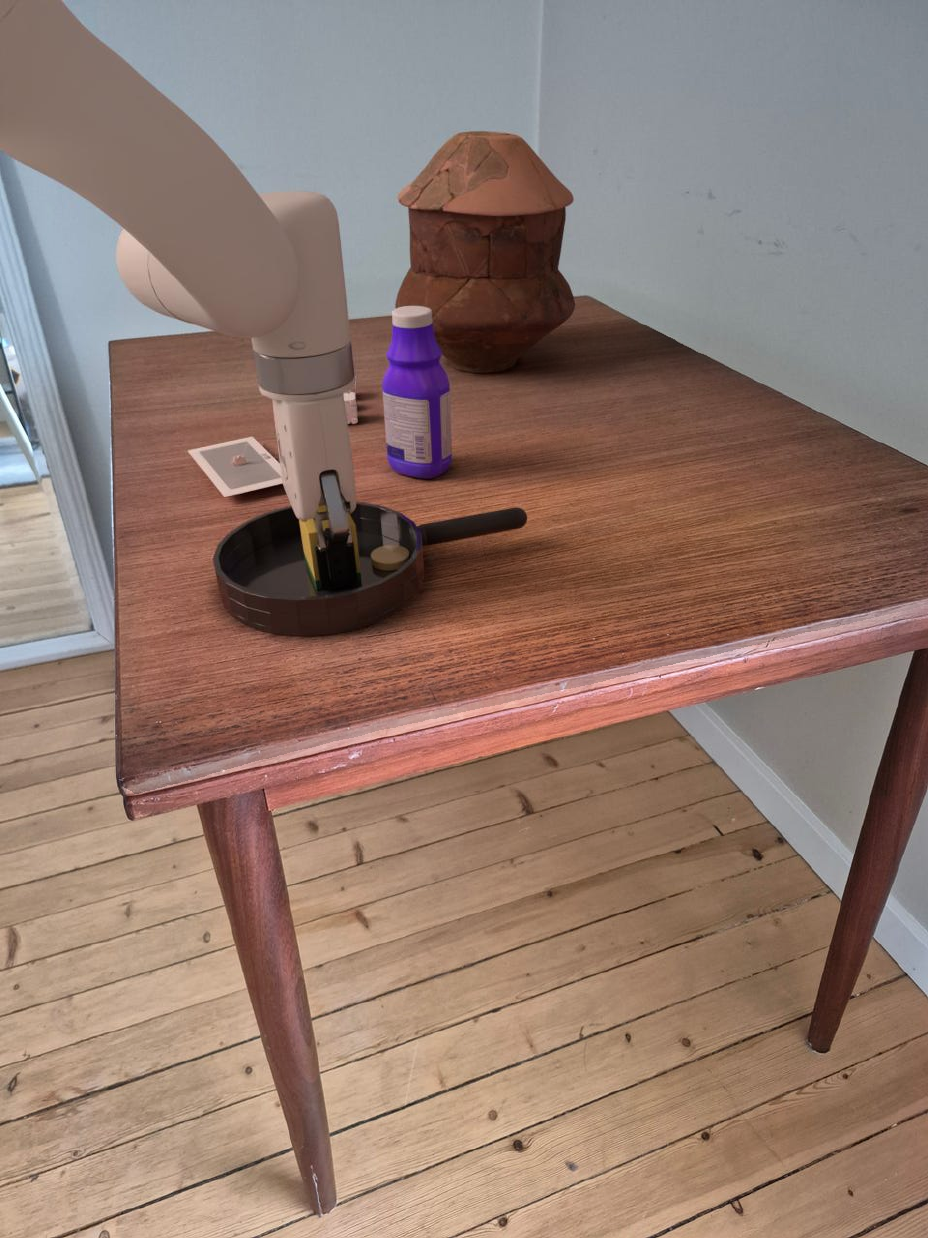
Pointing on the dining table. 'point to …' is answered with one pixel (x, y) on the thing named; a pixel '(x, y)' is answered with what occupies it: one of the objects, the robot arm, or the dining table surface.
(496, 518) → the pan handle
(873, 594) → the dining table surface
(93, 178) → the robot arm
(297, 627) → the pan
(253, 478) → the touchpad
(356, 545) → the sponge
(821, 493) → the dining table surface
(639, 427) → the dining table surface
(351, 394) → the game pieces
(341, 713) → the dining table surface
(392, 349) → the bottle
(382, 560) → the disc
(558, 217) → the pottery vessel
